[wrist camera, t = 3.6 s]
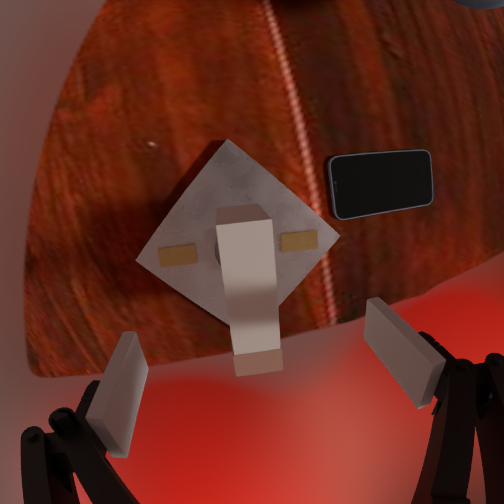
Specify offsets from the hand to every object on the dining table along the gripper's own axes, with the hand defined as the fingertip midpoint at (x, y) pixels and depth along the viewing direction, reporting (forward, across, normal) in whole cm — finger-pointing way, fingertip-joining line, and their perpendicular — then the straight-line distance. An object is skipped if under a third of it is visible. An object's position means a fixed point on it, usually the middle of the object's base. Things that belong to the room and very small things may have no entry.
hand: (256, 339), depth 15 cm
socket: (+18, 0, 0) cm, 18 cm away
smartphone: (+18, +19, +6) cm, 27 cm away
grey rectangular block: (+11, 0, 0) cm, 11 cm away
